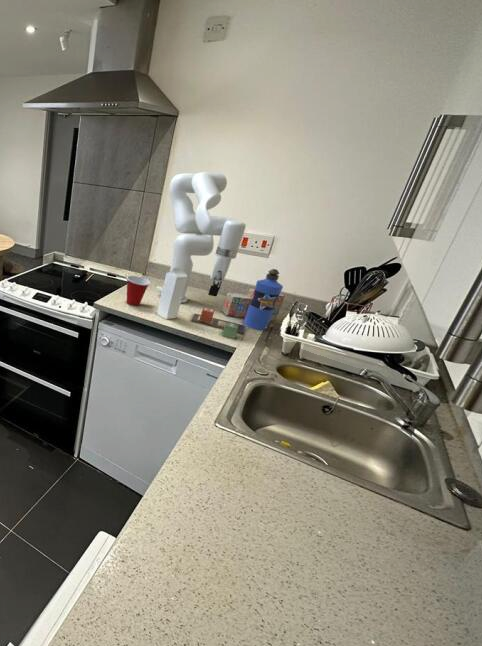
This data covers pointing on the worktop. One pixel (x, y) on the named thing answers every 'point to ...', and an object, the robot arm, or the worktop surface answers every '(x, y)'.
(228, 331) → the letter I
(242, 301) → the stack of blocks
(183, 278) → the milk
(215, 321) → the word board
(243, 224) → the robot arm
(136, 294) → the plastic cup
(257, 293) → the water bottle
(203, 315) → the letter H
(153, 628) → the worktop surface
